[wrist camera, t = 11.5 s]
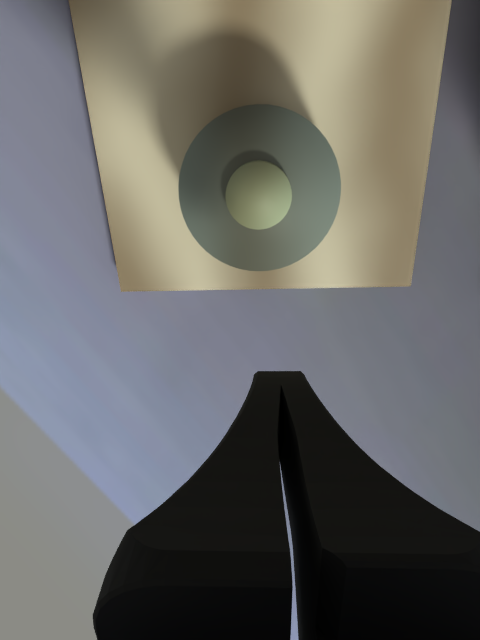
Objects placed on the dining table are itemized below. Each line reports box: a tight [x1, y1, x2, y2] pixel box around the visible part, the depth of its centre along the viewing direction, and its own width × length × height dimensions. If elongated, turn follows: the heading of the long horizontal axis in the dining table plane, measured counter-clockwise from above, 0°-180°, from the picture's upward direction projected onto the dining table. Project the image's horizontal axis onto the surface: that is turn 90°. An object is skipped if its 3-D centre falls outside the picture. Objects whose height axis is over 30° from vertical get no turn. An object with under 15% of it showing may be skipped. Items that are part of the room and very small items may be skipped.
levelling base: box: [69, 0, 452, 292], centre depth 15 cm, size 14×20×5 cm
